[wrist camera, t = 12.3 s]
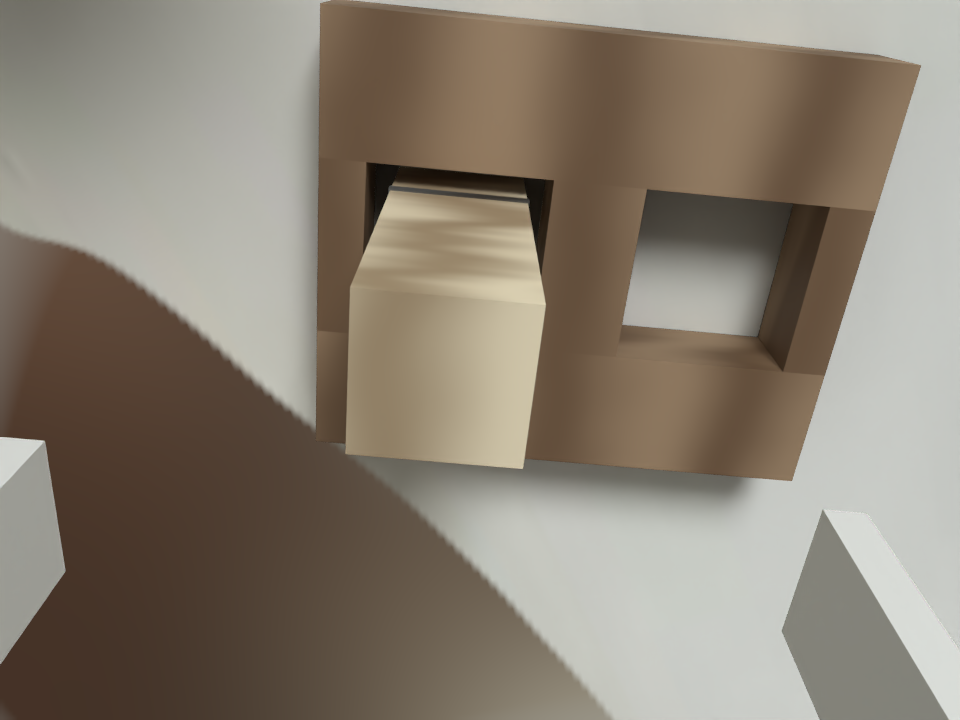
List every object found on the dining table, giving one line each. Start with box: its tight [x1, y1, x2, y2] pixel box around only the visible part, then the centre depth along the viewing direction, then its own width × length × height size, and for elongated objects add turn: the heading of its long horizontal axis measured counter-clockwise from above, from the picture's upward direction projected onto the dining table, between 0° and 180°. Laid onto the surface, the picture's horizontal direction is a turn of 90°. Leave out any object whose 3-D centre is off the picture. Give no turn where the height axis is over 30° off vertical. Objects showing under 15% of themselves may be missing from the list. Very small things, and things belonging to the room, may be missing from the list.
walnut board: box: [316, 0, 921, 481], centre depth 29 cm, size 18×15×3 cm
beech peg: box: [345, 166, 546, 469], centre depth 25 cm, size 4×4×12 cm
